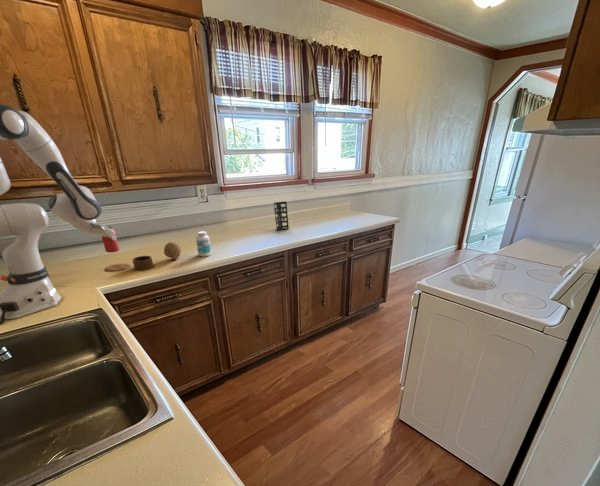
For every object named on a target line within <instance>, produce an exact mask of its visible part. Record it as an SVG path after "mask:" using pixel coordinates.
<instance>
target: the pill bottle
mask: <svg viewBox="0 0 600 486" xmlns="http://www.w3.org/2000/svg"><path fill="white" fill-rule="evenodd" d="M195 241H196V246H197V252H198V253H197V254H198V256H199V257H209V256H211V255H212V249H211V241H210V236H208V235H207V231H203V230H201V231H198V232H197V236H196V238H195Z"/></svg>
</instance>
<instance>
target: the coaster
mask: <svg viewBox="0 0 600 486" xmlns="http://www.w3.org/2000/svg"><path fill="white" fill-rule="evenodd" d="M129 267H130V266H129V264H128V263H116V264H112V265H111V264H110V265H109V266H107V267H106V268H105V270H106V271H107V272H119V271H125V270H126V269H128V268H129Z"/></svg>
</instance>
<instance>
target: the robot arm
mask: <svg viewBox="0 0 600 486" xmlns="http://www.w3.org/2000/svg"><path fill="white" fill-rule="evenodd" d="M6 140H9V141H10V140H11V141H14V142H15V143H16V144H17V145H18V146H19V147H20V148H21V150H22V151H23V152H24V153H25V154H26V155H27V156H28V157H29V158H30V160H32V161H33V163H35V164H36V165H37V166H38V167H39V168H40V169H41V170H42V171H43V172H44V173H46V174H47V176H49V177H50V179H52V180H53V181H54V183H56V185H57V186H58V187H59V188H60V189H61V191H62V192H61V193H54V194H52V196H51V197H50V198H49V199H48V208H49V211H50V212H51V213H53V215H55V216H57V217H58V218H60V219H61V220H63V221H64V222H67V223H69V224H71V225H72V227H73V228H76V229H78V231H79V230H80V232H82V233H87V234H89V235H95V236H99V237H101V236H103V237H108V238H111V239H112V240H114V241H115V240H116V239H117V240H118V238H116V237H117V236H116V237H115V236H114V234H116V231H115V230H114V231H115V232H114V231H113V230H111V229H109V228H108V227H109V226H106V225H104V224H103V223H99V222H97V221H96V219H98V218H99V217H100V216H101V214H102V207H101V204H99V202H98V200H97V199H96V198H95V197H96V196H94V194H93V192H92V190H90V188H88V187H87V186H85V185H79V184H78V183H77V181H76V180H75V179H74V177H73V176H72V174H71V173H70V171H69V169H68V167H67V164H66V162H65V160H64V157H63V155H62V153H61V151H60V149H59V148H58V146H57V144H56V143H55V142H54V140H53V138H52V137H51V136H50V135H49V134H48V133H47V131H46V130H45V129H44V127H42V125H41V124H40V123H39V122H38V121H37V120H36V119H35V118H33V116H32V115H31V114H29V113H27V112H26V111H23V110H18V109H15V108H14V107H12V106H10V105H8V104H5V103H2V102H1V103H0V141H6ZM11 186H12V183H11V179H10V178H9V175H8V172H7V170H6V168H5V165H4V162H3V160H2V158H1V156H0V196H2V195H4V194H5V193H7V192H8V191H9V190H10V189H11ZM49 218H50V217H49V214H48V212H47V211H46V210H45V208H43V207H42V206H40V205H39V204H38V203H32V202H31V203H30V202H17V203H14V202H13V203H5V204H0V238H3V237H9V236H10V237H11V236H15V241H14V242H13V243H11V244H10V245H8V246H6V247H5V248H4V249H3V251H2V255H1V256H2V259H3V261H4V264H5V266H6V268H7V270H8V274H7V275H4V274H2V275H0V280H1V281H5V282H6V281H7V285H6V286H5V287H4V288H3V290H2V291H1V292H0V319H1V320H0V325H3V324H4V322H5V321H6V320H12V319H14V320H15V319H19V318H21V317H25V316H28V315H30V314H34V313H36V312H40V311H44V310H46V309H49V308H53V307H55V306H57V305H58V303H59V302H60V301H61V300H62V296H61V295H60V294H59V293H58V290H56V288H55V286H54V285H53V283H52V281H51V280H50V274H49V272H48V270H47V267H46V266H45V265H44V263H43V261H42V257H41V254H40V251H39V242H40V241H39V240H40V237H41V235H42V234H43V232H44V231H45V230H47V228H48V227H49V224H50V219H49ZM105 230H106V231H105Z"/></svg>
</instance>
